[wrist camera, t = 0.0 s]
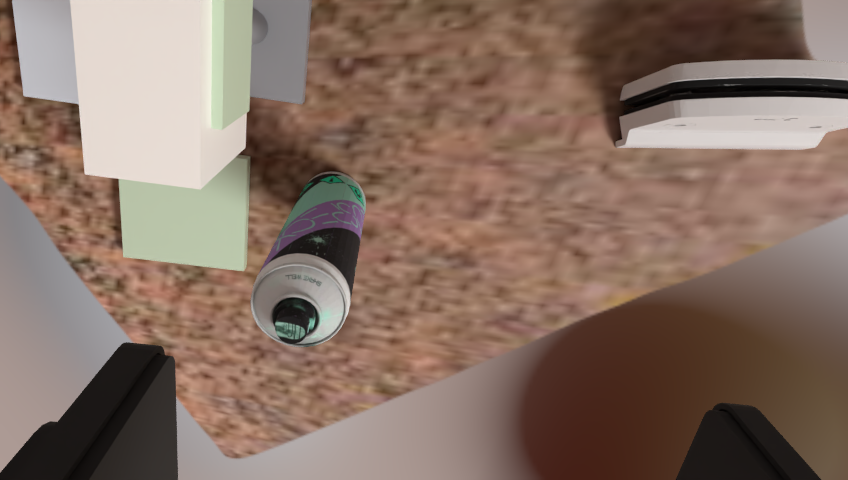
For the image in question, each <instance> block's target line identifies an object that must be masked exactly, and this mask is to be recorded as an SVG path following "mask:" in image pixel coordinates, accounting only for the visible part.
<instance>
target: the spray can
mask: <svg viewBox="0 0 848 480" xmlns="http://www.w3.org/2000/svg"><path fill="white" fill-rule="evenodd" d="M365 206H366V201H365V195H364V193H363V190H362V188H361V187H360V185H359V184H358V183H357V182H356V181H355V180H354V179H353V178H351V177H350V176H348V175H346V174H344V173H340V172H333V171H329V172H323V173H320V174H318V175H316V176H314V177H313V178H312V179H310V180H309V181H308V183H307V184H306V185H305V187H304V188H303V190H302V192H301V194H300V196H299V198H298V200H297V201H296V203H295V205H294V207H293V209H292V211H291V213H290V215H289V217H288V219H287V221H286V223H285V224H284V226H283V228H282V230H281V232H280V234H279V236H278V238H277V240H276V242H275V244H274V246H273V248H272V249H271V251H270V253H269V255H268V257H267V259H266V261H265V263H264V265H263V267H262V269H261V271H260V272H259V274H258V276H257V278H256V281H255V283H254V285H253V291H252V295H251V311H252V314H253V317H254V319H255V321H256V323H257V325H258V326H259V327H260V328H261V330H262V331H263V332H264V333H265V334H267V335H268V336H269V337H270V338H272V339H274V340H276V341H277V342H280V343H282V344H285V345H289V346H294V347H309V346H315V345H318V344H321V343H323V342H325V341H327V340H329V339H330V338H332V337H333V336H334V335H335V334H336V333H337V332H338V331H339V330H340V328H341V327H342V325H343V323H344V321H345V318H346V316H347V314H348V311H349V307H350V301H351V295H352V289H353V283H354V276H355V270H356V264H357V258H358V252H359V245H360V239H361V233H362V227H363V221H364V215H365Z"/></svg>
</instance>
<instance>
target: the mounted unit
mask: <svg viewBox="0 0 848 480" xmlns="http://www.w3.org/2000/svg"><path fill="white" fill-rule="evenodd" d="M70 5H71V17H72V29H73V40H74V52H75V64H76V76H77V87H78V99H79V111H80V123H81V135H82V146H83V158H84V170H85V174H86V175H94V176H101V177H109V178H117V179H124V180H132V181H139V182H147V183H155V184H162V185H170V186H177V187H185V188H193V189H200V190H201V189H202V188H203V187H204V186H205V185H206V184H207V183H208V182H209V181H210V180H211V179H212V178H213V177H215V176H216V175H217V174H218V173H219V172H220V171H221V170H222V169H223V168H224V167H225V166H226V165H227V164H229V163H230V162H231V161H232V160H233V159H234V158H235V157H236V156H237V155H238V154H239V153H240V152H241V151H243V150H244V149H245V148H246V119H247V112H248V111H249V105H250V97H257V98H264V99H270V100H277V101H284V102H290V103H297V104H303V103H304V102H305V89H306V75H307V61H308V47H309V33H310V19H311V5H312V0H70Z"/></svg>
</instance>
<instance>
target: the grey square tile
mask: <svg viewBox="0 0 848 480" xmlns="http://www.w3.org/2000/svg"><path fill="white" fill-rule="evenodd" d="M12 4H13V12H14V21H15V29H16V37H17V45H18V53H19V61H20V70H21V78H22V86H23V94H24V96H27V97H34V98H41V99H48V100H55V101H62V102H69V103H76V104H79V99H78V87H77V76H76V64H75V52H74V40H73V29H72V17H71V5H70V0H12Z"/></svg>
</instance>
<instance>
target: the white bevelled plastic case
mask: <svg viewBox="0 0 848 480" xmlns="http://www.w3.org/2000/svg"><path fill="white" fill-rule="evenodd" d="M620 101H625V105H641V106H638V107H635V108H632V109H629V110H626V111H624V116H621V117H619V120H620V126H621V133H622V140H619V141H616V147H617V148H704V149H792V150H801V149H808V148H814V147H816V146H817V145H818V144H819V142H820V141H821V139H822V138H823V136H824V135H825V134H826V133H827V132H830V131H834V130H839V129H843V128H848V63H845V62H833V61H818V60H779V59H773V60H731V61H712V62H696V63H683V64H677V65H673V66H670V67H668V68H665V69H663V70H660V71H658V72H655V73H653V74H650V75H648V76H645V77H643V78H641V79H638V80H636V81H633V82H631V83H628V84H626V85H624V86H623V89H622V92H621V96H620Z"/></svg>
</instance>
